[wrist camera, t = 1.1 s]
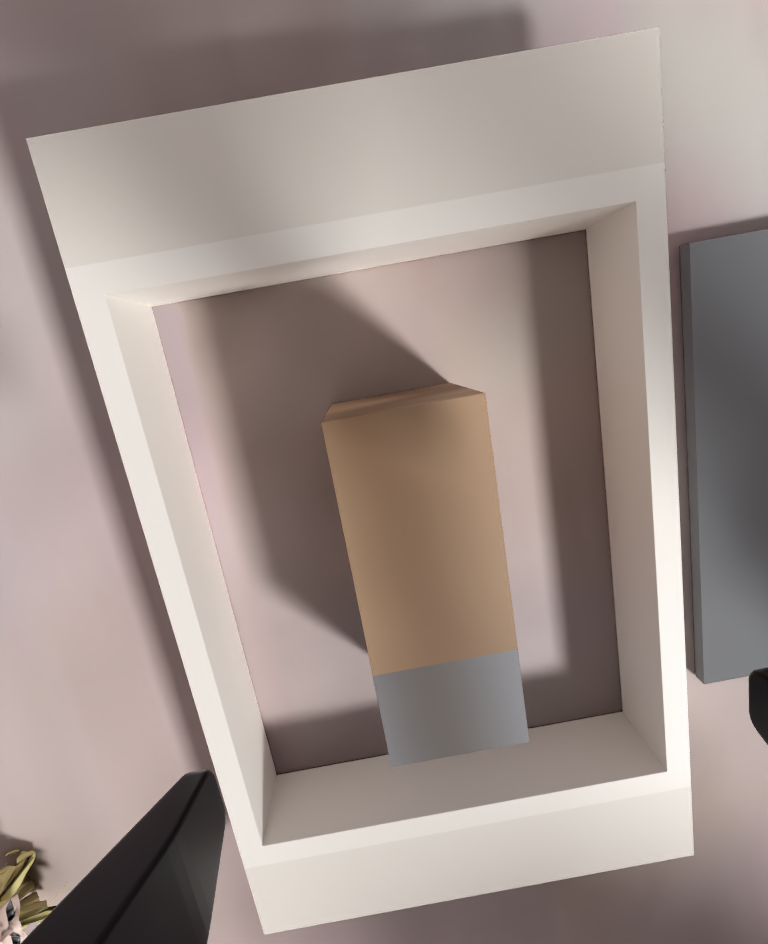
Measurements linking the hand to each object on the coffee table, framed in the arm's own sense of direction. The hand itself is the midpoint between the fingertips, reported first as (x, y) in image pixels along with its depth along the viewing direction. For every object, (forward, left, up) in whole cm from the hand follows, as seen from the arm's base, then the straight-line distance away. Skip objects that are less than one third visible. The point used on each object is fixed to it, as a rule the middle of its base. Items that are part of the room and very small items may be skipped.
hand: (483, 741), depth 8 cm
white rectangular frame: (0, 0, -10) cm, 10 cm away
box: (0, 0, -10) cm, 10 cm away
